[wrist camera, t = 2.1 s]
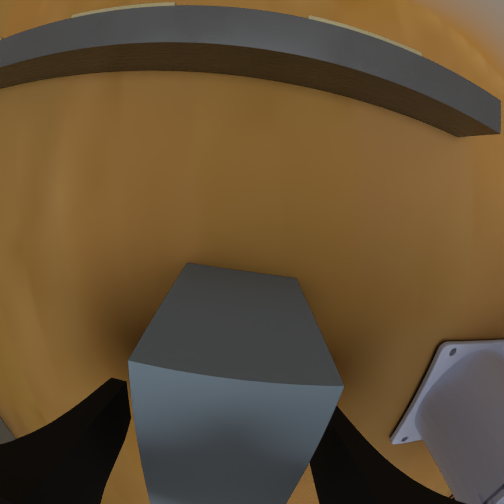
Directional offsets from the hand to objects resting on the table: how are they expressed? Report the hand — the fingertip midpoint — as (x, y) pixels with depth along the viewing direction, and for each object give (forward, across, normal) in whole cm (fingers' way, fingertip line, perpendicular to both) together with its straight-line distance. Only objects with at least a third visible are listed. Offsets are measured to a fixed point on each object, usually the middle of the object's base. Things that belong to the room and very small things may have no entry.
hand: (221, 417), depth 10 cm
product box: (+4, 0, 0) cm, 4 cm away
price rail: (+4, +6, -13) cm, 15 cm away
